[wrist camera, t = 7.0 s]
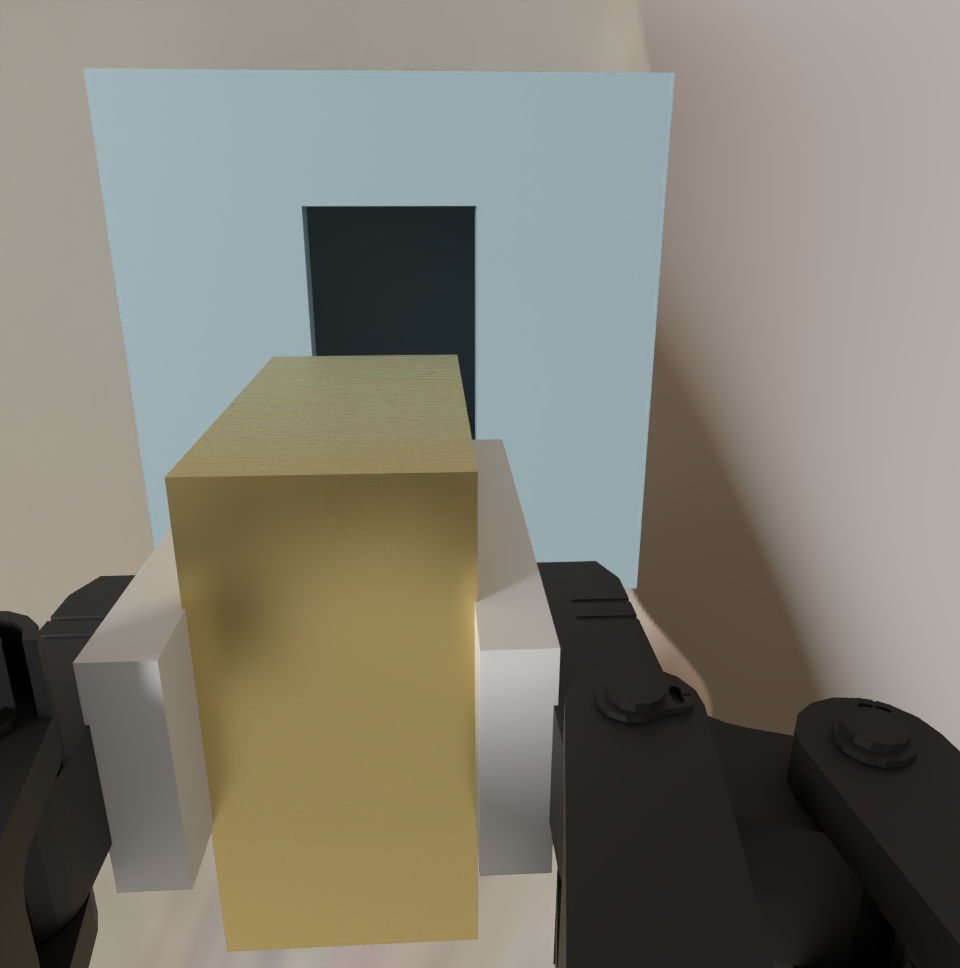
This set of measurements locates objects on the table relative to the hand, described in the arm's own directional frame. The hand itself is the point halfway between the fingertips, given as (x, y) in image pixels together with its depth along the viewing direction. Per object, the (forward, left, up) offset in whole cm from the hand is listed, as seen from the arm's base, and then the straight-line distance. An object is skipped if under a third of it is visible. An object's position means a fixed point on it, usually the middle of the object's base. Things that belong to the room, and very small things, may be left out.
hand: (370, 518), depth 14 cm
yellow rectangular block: (0, 0, 0) cm, 1 cm away
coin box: (0, 0, -24) cm, 24 cm away
